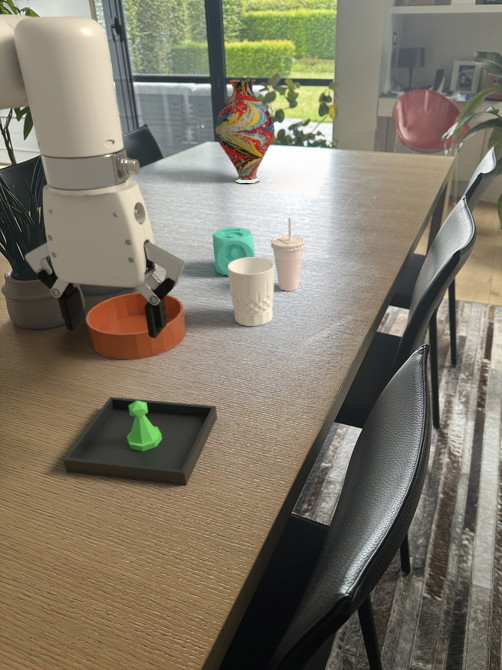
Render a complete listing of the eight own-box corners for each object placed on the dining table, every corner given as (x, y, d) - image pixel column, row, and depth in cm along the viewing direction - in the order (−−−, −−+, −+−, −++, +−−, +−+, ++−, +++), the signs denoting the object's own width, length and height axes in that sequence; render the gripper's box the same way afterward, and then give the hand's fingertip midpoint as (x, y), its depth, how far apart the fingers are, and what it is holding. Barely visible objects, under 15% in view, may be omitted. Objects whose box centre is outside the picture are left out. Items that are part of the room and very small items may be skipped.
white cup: (268, 305, 103) (266, 254, 97) (281, 324, 96) (280, 270, 91) (227, 312, 101) (222, 260, 95) (237, 331, 94) (234, 277, 89)
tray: (66, 471, 65) (62, 459, 64) (112, 407, 76) (110, 396, 75) (186, 485, 63) (184, 473, 62) (217, 417, 74) (215, 406, 73)
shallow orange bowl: (74, 355, 89) (68, 331, 86) (115, 312, 102) (111, 290, 99) (167, 362, 86) (163, 337, 84) (197, 317, 99) (195, 294, 97)
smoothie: (293, 297, 106) (292, 225, 98) (266, 290, 109) (263, 219, 101) (310, 285, 110) (311, 215, 103) (283, 279, 113) (282, 211, 106)
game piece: (160, 449, 68) (153, 410, 65) (125, 452, 68) (116, 413, 64) (163, 428, 71) (157, 390, 68) (130, 430, 71) (122, 392, 68)
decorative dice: (251, 261, 122) (249, 225, 118) (255, 275, 115) (253, 237, 111) (215, 264, 121) (211, 228, 117) (217, 278, 114) (214, 241, 110)
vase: (207, 183, 182) (198, 82, 166) (242, 172, 195) (237, 76, 179) (253, 191, 173) (247, 84, 157) (286, 178, 186) (285, 78, 170)
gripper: (185, 164, 54) (200, 319, 64) (25, 159, 57) (62, 308, 66) (158, 184, 48) (179, 352, 57) (-20, 176, 51) (27, 338, 60)
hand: (116, 328), depth 62 cm, fingers open, 9 cm apart
